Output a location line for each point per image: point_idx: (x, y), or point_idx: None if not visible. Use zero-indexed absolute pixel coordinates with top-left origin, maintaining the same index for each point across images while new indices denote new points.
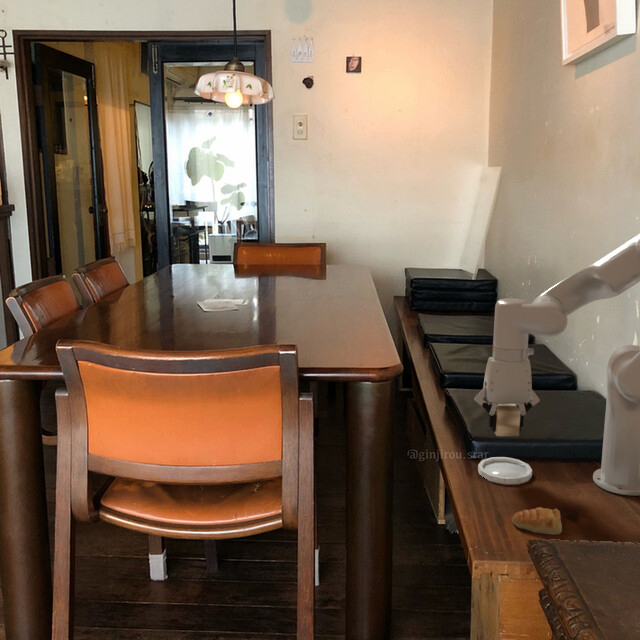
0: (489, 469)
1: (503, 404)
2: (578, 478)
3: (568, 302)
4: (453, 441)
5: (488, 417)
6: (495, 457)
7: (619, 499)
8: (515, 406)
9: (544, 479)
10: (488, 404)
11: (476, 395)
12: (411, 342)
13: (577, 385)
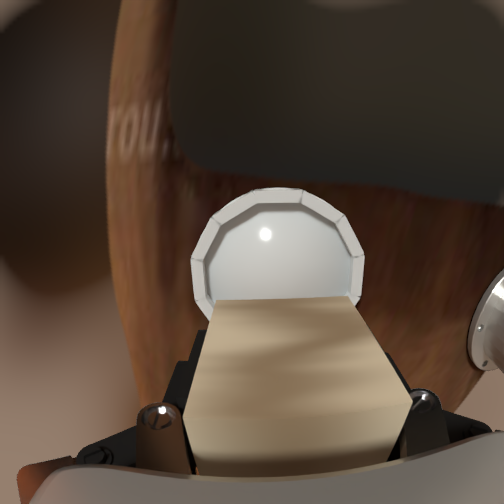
0: (229, 266)
1: (291, 434)
2: (455, 298)
3: None
4: (156, 25)
5: (168, 392)
6: (265, 193)
7: (465, 378)
8: (379, 454)
9: (379, 309)
10: (136, 447)
11: (19, 495)
12: None
13: None
